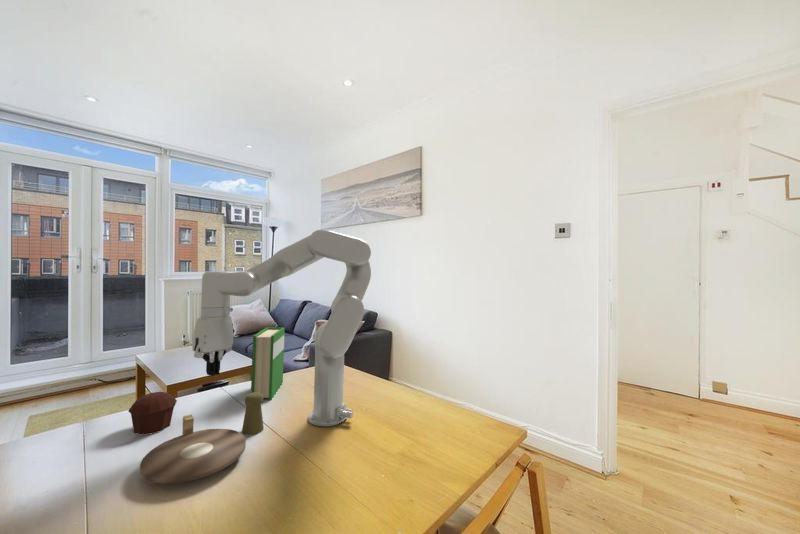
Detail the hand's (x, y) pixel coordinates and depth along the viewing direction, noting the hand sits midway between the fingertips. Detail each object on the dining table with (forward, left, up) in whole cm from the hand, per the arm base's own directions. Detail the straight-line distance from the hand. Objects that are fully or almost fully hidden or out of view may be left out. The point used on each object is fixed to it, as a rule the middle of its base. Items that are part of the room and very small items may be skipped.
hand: (213, 374), depth 95 cm
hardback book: (+6, -32, -17) cm, 37 cm away
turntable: (-9, +13, -15) cm, 22 cm away
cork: (-11, -5, -17) cm, 21 cm away
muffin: (+18, +4, -17) cm, 26 cm away
